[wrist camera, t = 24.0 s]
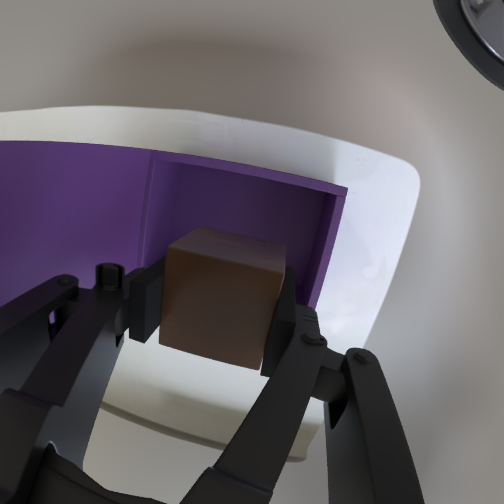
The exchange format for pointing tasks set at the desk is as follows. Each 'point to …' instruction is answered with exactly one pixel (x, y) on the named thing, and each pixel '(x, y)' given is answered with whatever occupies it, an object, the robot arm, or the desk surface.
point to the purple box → (242, 211)
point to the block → (221, 295)
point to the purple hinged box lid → (67, 211)
